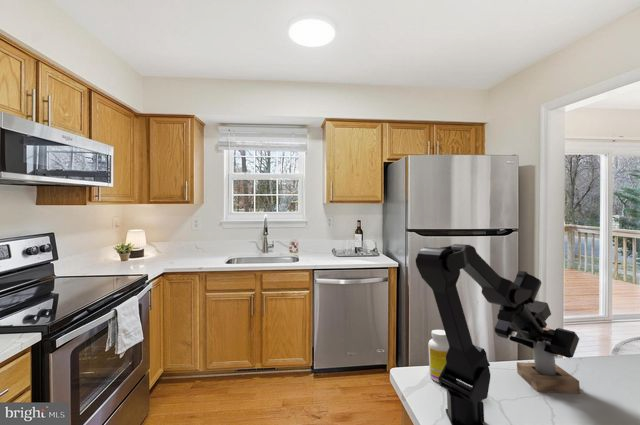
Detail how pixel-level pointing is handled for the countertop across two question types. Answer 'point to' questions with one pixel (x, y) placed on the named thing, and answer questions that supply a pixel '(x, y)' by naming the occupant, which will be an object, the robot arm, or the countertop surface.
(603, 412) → the countertop surface
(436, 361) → the supplement bottle
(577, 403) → the countertop surface
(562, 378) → the brown square frame
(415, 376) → the countertop surface
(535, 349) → the plug
